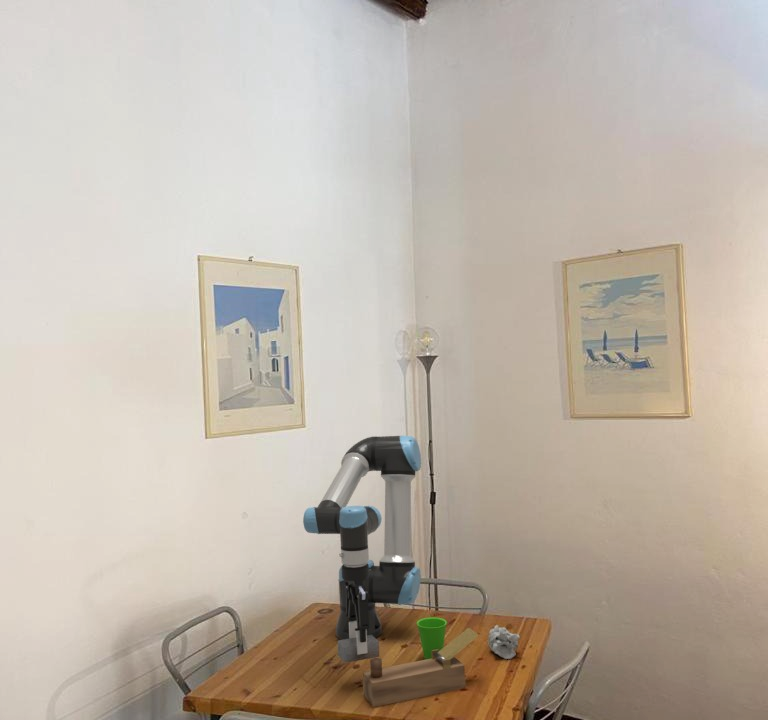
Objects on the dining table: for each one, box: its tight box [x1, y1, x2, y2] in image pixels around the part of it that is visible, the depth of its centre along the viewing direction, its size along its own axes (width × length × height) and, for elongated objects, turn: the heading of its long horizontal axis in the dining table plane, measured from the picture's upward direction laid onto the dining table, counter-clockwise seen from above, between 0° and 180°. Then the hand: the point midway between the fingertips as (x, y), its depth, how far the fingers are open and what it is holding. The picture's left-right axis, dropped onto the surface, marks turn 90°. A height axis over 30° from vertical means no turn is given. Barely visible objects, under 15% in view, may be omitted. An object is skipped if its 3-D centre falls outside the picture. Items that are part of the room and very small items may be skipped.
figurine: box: [487, 624, 521, 660], centre depth 213 cm, size 8×10×12 cm
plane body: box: [362, 649, 466, 708], centre depth 190 cm, size 8×26×10 cm, turn 110°
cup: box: [415, 616, 448, 660], centre depth 210 cm, size 9×9×11 cm
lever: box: [434, 627, 479, 663], centre depth 194 cm, size 6×1×12 cm
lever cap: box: [337, 635, 380, 664], centre depth 195 cm, size 6×10×5 cm, turn 110°
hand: (358, 649), depth 195 cm, fingers closed on lever cap, 6 cm apart
